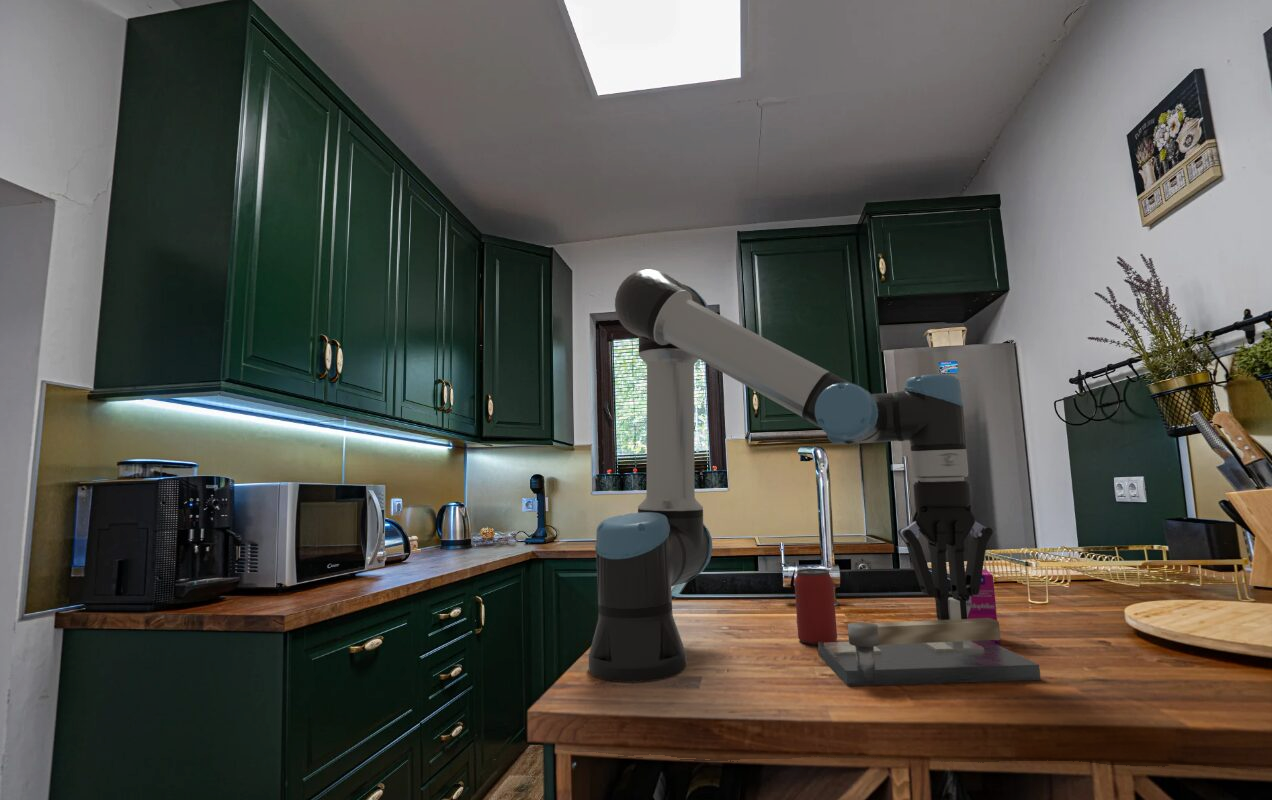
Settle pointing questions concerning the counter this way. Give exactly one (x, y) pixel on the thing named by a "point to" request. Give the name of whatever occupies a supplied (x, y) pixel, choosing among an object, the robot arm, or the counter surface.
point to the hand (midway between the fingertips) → (954, 645)
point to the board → (930, 663)
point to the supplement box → (983, 601)
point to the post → (866, 663)
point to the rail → (922, 631)
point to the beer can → (815, 606)
